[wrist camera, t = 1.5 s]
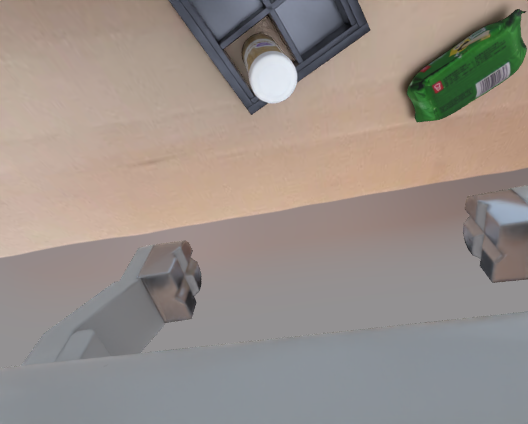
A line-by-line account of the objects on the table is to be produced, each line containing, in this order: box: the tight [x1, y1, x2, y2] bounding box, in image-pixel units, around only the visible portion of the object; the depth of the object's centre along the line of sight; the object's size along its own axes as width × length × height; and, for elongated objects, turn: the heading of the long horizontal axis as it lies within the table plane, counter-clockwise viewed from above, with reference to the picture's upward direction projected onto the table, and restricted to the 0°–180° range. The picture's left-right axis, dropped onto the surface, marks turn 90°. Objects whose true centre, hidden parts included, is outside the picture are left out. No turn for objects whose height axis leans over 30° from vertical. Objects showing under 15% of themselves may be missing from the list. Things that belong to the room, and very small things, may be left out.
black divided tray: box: [169, 0, 370, 115], centre depth 40 cm, size 17×17×3 cm
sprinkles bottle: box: [242, 34, 297, 103], centre depth 39 cm, size 5×5×13 cm
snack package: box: [407, 9, 527, 122], centre depth 46 cm, size 7×16×5 cm, turn 126°
